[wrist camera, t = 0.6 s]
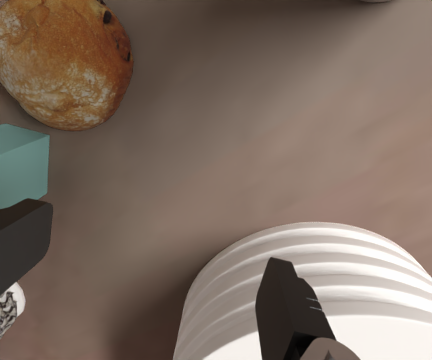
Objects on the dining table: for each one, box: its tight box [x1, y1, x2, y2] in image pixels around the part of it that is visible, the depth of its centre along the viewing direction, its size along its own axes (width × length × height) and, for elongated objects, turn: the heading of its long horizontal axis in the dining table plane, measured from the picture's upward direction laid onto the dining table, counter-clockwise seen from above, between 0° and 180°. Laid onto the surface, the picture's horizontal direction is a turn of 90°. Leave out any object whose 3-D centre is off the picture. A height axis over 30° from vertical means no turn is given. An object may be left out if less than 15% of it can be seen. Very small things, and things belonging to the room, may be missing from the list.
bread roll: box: [0, 0, 134, 131], centre depth 22 cm, size 10×10×8 cm
